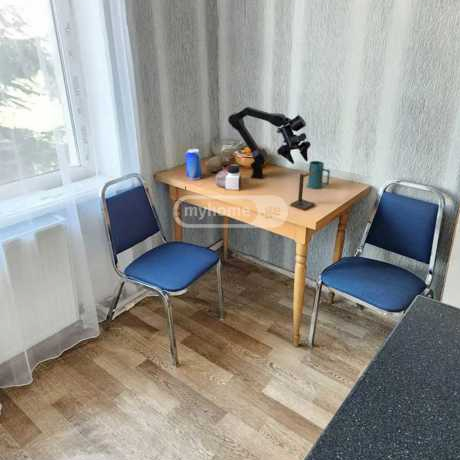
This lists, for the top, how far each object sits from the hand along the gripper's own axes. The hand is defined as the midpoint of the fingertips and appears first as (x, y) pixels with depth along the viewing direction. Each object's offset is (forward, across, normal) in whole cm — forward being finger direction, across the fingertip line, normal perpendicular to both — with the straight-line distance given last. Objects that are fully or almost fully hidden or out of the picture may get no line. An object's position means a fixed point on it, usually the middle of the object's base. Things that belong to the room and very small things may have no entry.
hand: (300, 162), depth 204 cm
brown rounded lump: (-23, -21, +46) cm, 56 cm away
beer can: (-18, -40, +41) cm, 60 cm away
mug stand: (+23, -11, -5) cm, 26 cm away
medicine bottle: (-1, -28, +22) cm, 36 cm away
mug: (+14, +8, +4) cm, 17 cm away
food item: (-6, -30, +27) cm, 41 cm away
